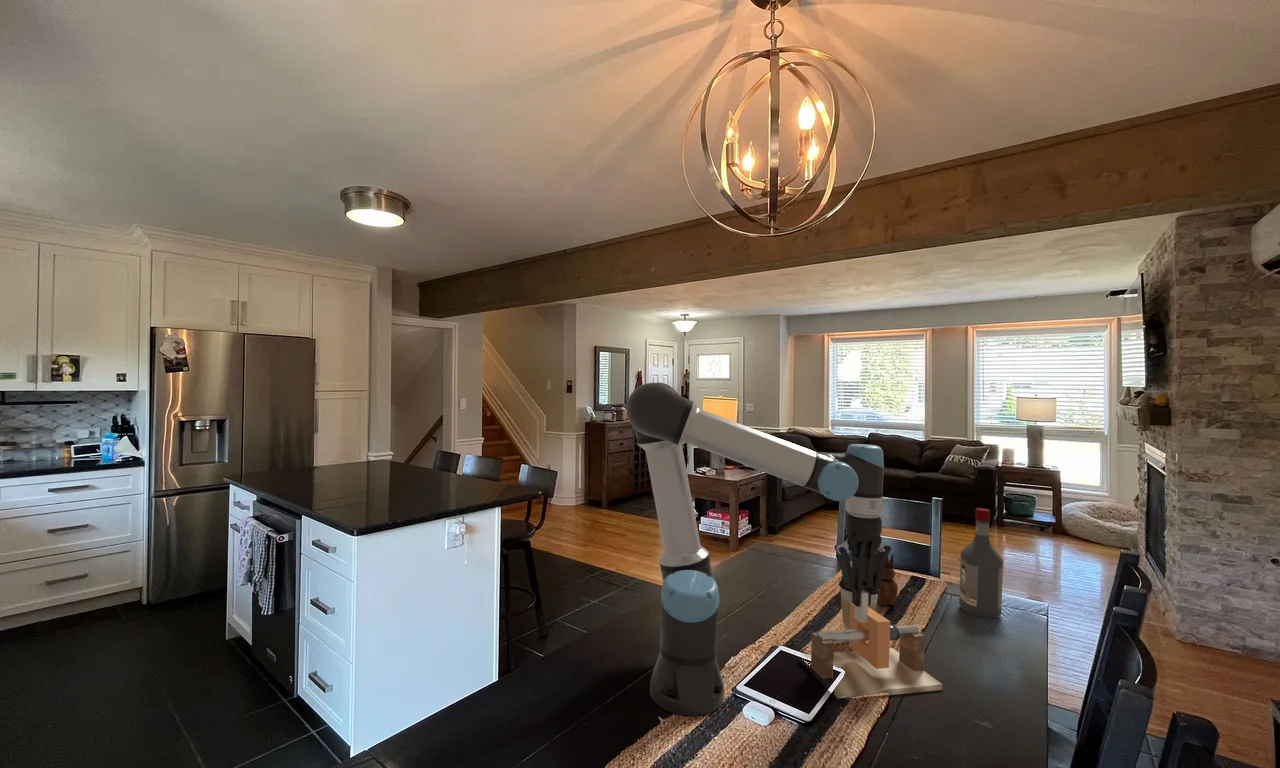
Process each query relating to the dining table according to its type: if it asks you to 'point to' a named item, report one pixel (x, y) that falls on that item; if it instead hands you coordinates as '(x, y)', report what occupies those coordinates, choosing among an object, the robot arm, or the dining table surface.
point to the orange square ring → (872, 638)
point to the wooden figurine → (888, 585)
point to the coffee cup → (847, 599)
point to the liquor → (981, 573)
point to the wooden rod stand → (874, 669)
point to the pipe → (866, 634)
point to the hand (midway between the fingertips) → (860, 619)
